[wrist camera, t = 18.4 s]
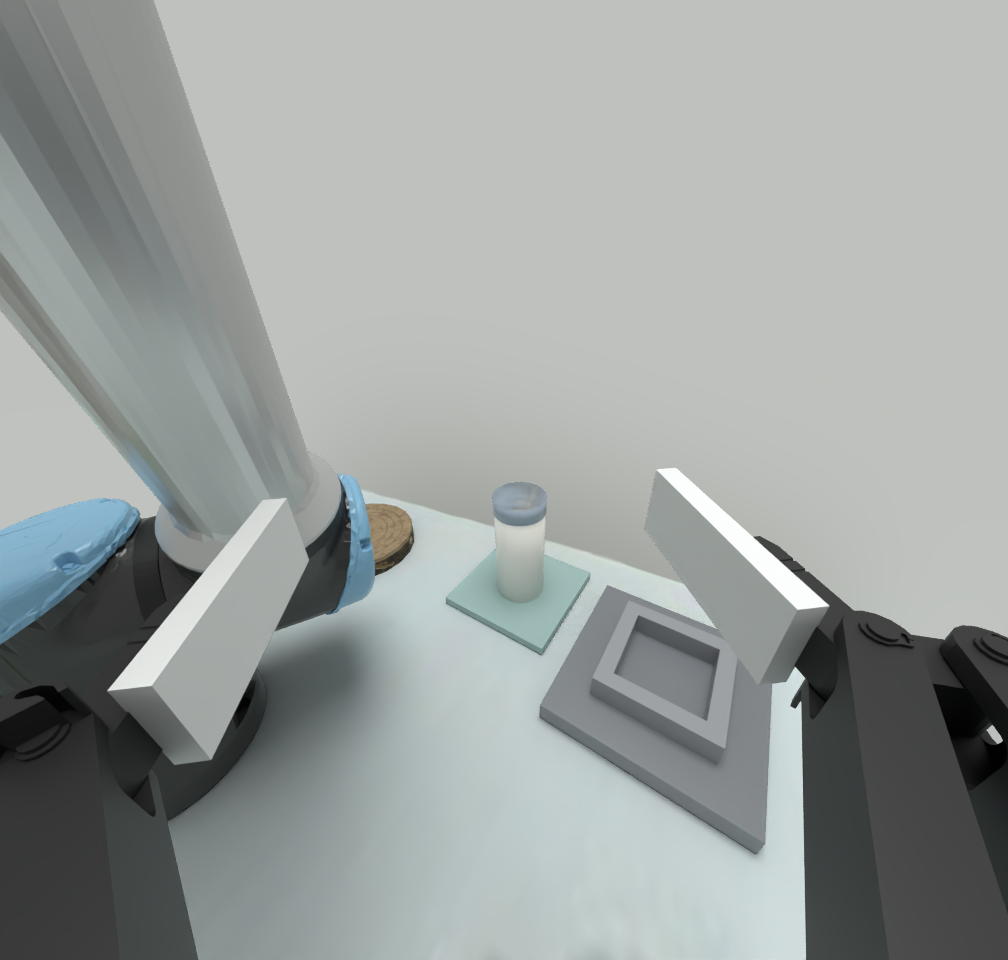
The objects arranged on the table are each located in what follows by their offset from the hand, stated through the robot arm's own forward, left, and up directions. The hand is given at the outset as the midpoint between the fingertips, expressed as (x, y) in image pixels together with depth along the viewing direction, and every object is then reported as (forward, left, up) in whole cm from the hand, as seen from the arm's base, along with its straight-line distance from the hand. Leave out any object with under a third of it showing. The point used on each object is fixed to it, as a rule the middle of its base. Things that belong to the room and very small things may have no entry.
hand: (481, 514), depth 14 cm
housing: (+7, +18, -30) cm, 36 cm away
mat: (-12, +22, -30) cm, 39 cm away
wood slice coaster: (-38, +17, -31) cm, 52 cm away
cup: (-12, +22, -29) cm, 39 cm away
